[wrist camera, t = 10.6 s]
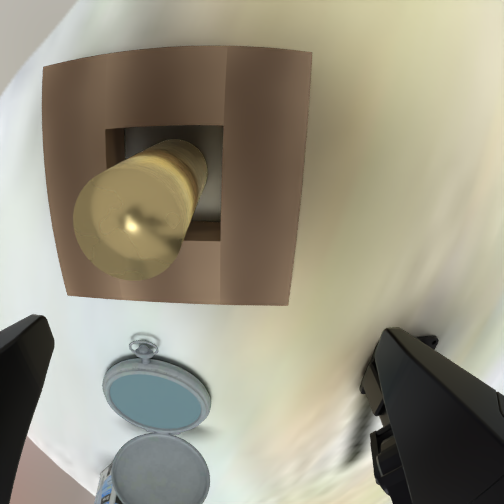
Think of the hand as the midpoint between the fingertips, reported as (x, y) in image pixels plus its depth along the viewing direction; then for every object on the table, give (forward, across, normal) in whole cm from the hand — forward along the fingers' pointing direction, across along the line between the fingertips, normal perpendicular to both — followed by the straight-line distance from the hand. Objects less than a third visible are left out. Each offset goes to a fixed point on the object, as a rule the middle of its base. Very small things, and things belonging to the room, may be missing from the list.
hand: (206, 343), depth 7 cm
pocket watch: (+13, +6, +18) cm, 23 cm away
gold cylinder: (+13, +3, -2) cm, 13 cm away
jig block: (+13, +3, -2) cm, 13 cm away
